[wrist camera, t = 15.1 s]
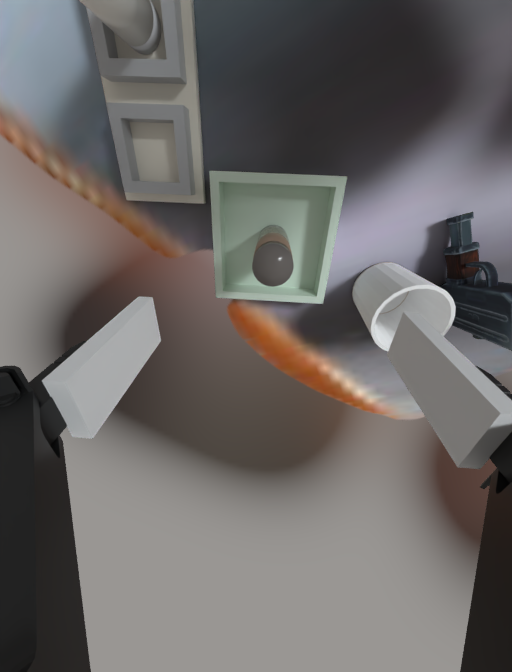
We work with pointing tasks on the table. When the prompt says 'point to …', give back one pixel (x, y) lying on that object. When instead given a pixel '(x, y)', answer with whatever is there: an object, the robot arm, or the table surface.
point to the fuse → (130, 21)
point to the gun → (476, 288)
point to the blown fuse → (272, 257)
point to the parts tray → (274, 209)
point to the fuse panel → (155, 107)
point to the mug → (399, 301)
